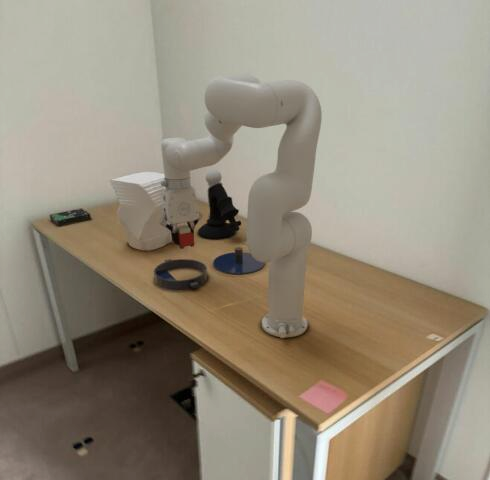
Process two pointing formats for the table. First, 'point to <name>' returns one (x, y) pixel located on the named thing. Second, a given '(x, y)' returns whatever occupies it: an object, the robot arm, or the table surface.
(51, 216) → the disk drive
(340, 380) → the table surface
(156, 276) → the pot
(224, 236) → the sculpture
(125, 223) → the paper stack
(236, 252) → the lid
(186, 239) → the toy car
